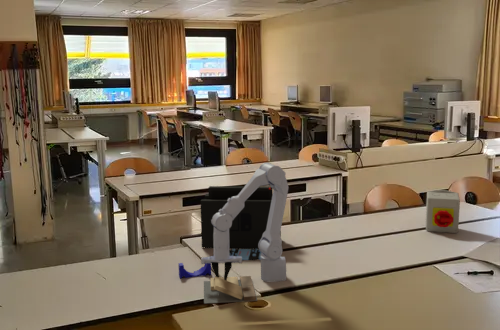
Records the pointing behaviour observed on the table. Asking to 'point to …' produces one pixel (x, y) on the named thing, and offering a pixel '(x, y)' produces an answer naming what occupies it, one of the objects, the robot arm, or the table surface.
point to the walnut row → (247, 288)
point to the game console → (238, 219)
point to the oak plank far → (230, 279)
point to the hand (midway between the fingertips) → (221, 282)
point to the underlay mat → (219, 295)
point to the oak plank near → (228, 287)
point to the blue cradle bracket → (200, 272)
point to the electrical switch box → (442, 211)
